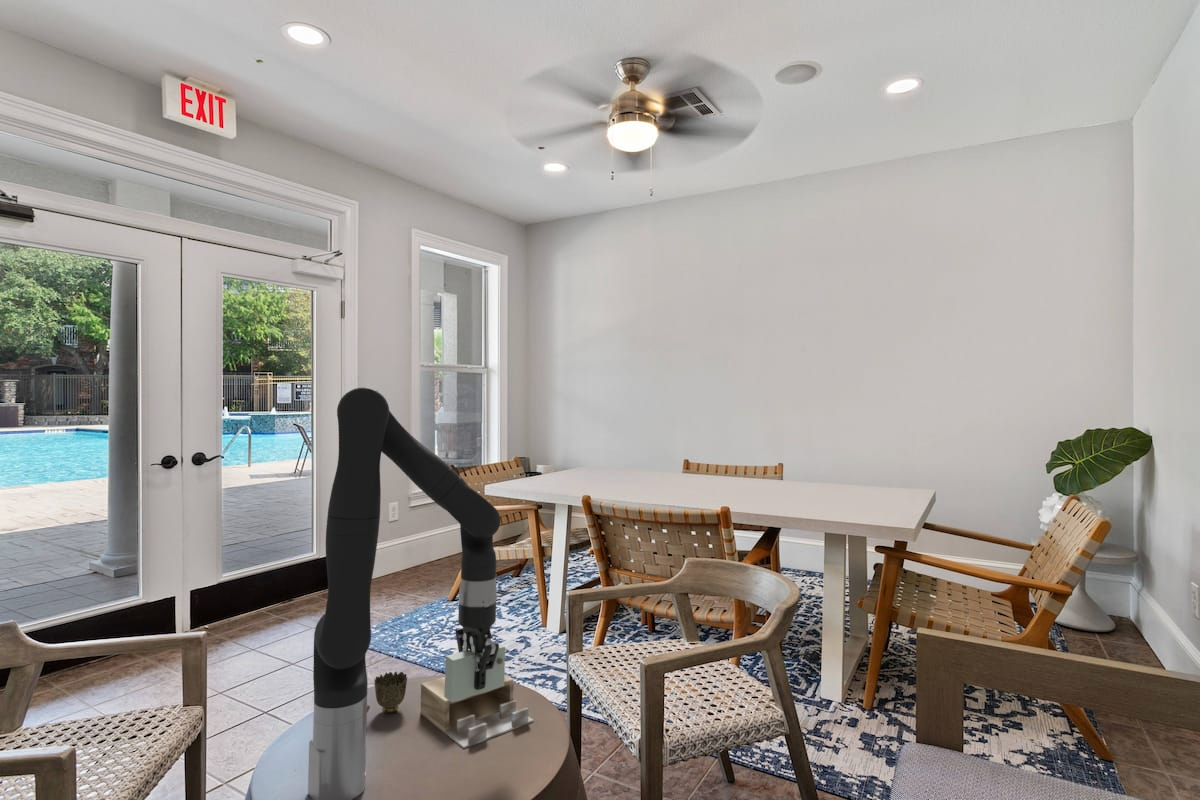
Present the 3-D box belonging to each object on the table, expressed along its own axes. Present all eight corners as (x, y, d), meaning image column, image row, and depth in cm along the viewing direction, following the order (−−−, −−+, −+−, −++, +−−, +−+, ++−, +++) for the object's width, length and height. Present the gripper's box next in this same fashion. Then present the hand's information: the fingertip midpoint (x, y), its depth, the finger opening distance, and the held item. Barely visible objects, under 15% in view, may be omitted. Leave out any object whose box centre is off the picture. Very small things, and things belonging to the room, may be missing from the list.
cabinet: (463, 748, 130) (464, 715, 130) (420, 713, 145) (421, 683, 145) (533, 721, 142) (534, 690, 142) (486, 691, 157) (487, 663, 157)
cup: (372, 707, 148) (373, 673, 148) (404, 702, 151) (405, 669, 151) (375, 721, 141) (376, 686, 141) (408, 715, 144) (409, 680, 144)
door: (454, 703, 119) (455, 662, 120) (444, 696, 122) (445, 655, 123) (506, 687, 127) (507, 648, 128) (496, 681, 130) (497, 642, 131)
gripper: (444, 595, 129) (441, 679, 128) (479, 611, 118) (476, 703, 117) (476, 589, 134) (473, 670, 133) (512, 604, 123) (509, 692, 122)
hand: (475, 685), depth 125 cm, fingers closed on door, 3 cm apart
